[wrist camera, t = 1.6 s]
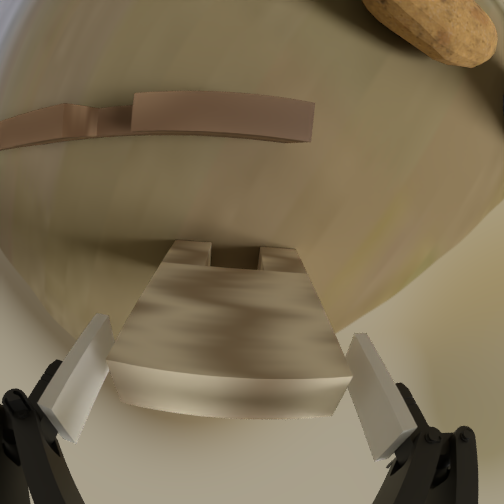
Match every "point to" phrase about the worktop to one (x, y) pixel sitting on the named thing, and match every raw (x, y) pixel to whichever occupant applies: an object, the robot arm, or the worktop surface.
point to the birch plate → (230, 340)
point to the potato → (440, 28)
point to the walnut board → (166, 119)
